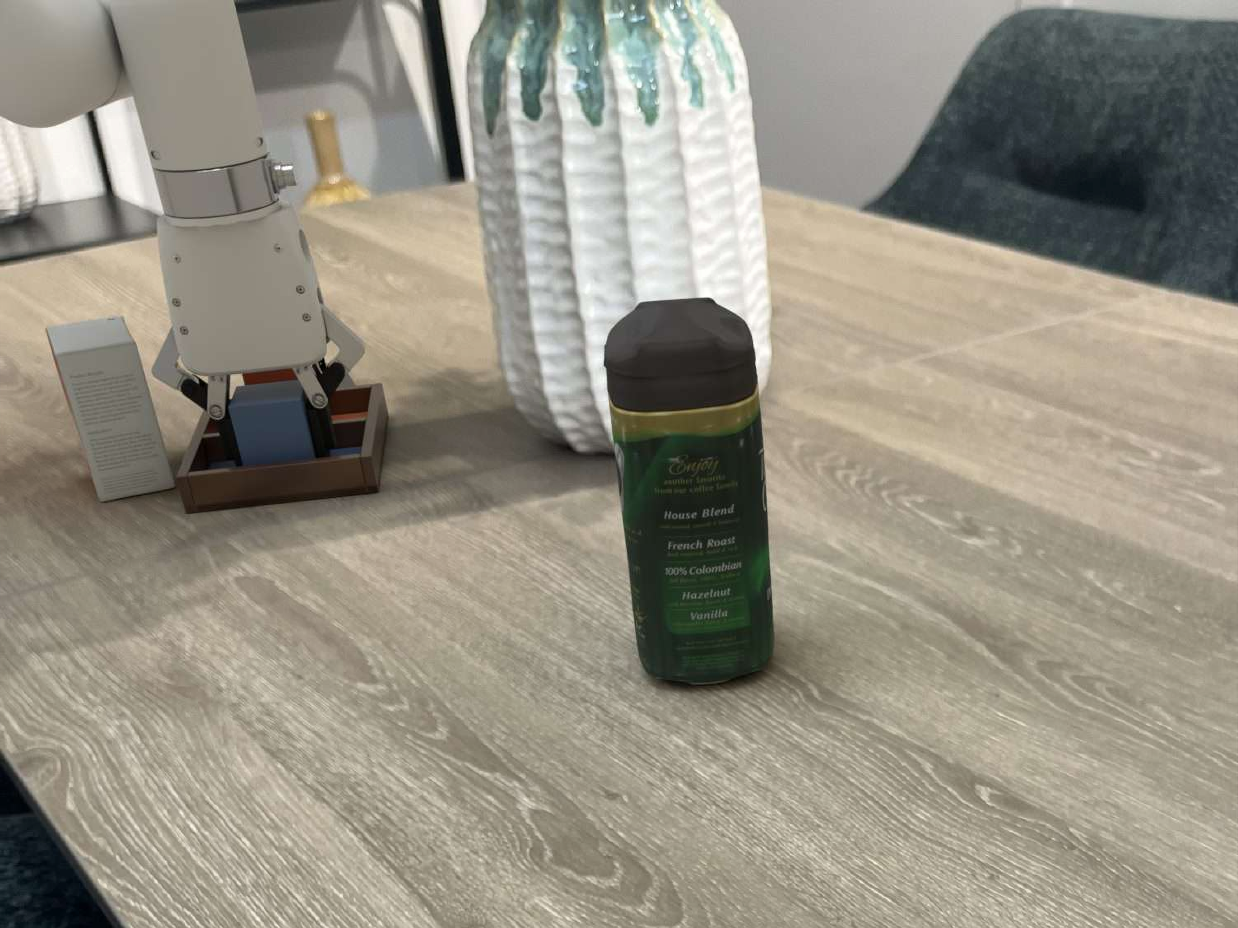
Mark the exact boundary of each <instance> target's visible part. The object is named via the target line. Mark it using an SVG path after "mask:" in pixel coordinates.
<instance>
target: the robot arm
mask: <svg viewBox="0 0 1238 928" xmlns="http://www.w3.org/2000/svg"><path fill="white" fill-rule="evenodd" d="M241 30H242V29H241V26H240V20H239V17H238V13H237V8H236V4H235V1H234V0H0V118H2V119H5V120H7V121H8V122H11V123H13V124H16V125H19V126H23V127H26V128H34V129H35V128H36V129H47V128H53V127H56V126H58V125H62V124H64V123H66V122H69V121H72V120H73V119H76V118H78V117H80V116H82V115H84V114H87V113H89V112H92V111H95V110H98V109H100V108H103V107H106V106H109V105H111V104H114V103H115V102H118V101H121V100H124V99H128V98H131V97H132V98H133V102H134V106H135V109H136V113H137V117H138V120H139V124H140V127H141V132H142V136H143V139H144V143H145V146H146V150H147V154H148V158H149V161H150V166H151V169H152V173H153V175H154V181H155V184H156V188H157V191H158V195H159V199H160V203H161V206H162V211H163V214H162V215H161V214H160V216H159V215H158V217H157V219H156V235H157V243H158V245H157V246H158V254H159V261H160V263H159V264H160V268H161V269H160V270H161V274H162V281H163V286H164V287H163V288H164V292H165V297H166V303H167V307H168V313H169V317H170V322H171V327H170V329H169V331H168V333H167V336H166V337H165V340H164V342H163V343H162V345H161V349H160V350H159V352H158V354H157V356H156V358H155V360H154V362H153V365H152V367H151V371H150V372H151V375H152V377H154V378H155V379H157V380H158V381H160V382H162V383H163V384H165V385H166V386H168V387H170V388H172V389H174V390H175V391H178V392H180V393H182V395H183V396H184V397H185V398H187V399H188V400H190V401H191V402H193V403H194V404H196V406H198V407H199V408H201V409H203V410H205V411H207V412H208V414H209V416H210V417H211V418H213V419H215V420H216V423H217V427H218V431H219V434H220V438H221V442H222V446H223V449H224V453H225V457H226V459H227V461H231V460H234V461H235V465H236V467H242V466H243V463H242V459H241V455H240V451H239V447H238V444H237V440H236V436H235V432H234V428H233V424H232V420H231V416H230V413H229V409H228V407H229V404H230V402H231V400H230V399H231V397H230V396H231V375H232V376H233V375H242V374H243V373H253V372H262V371H271V370H280V369H289V368H292V369H293V371H294V373H295V375H296V376H297V378H298V380H299V382H300V384H301V386H302V387H303V389H304V391H305V393H306V395H307V403H308V406H307V409H306V416H307V421H308V425H309V429H310V434H311V438H312V442H313V447H314V451H315V455H316V458H325V457H330V454H331V452H330V449H336V448H337V441H336V436H335V431H334V427H333V422H332V418H331V414H330V409H329V405H328V401H329V399H330V398H331V396H332V395H333V394H334V392H335V391H336V389H337V388H338V386H339V385H340V383H341V382H342V380H343V379H344V377H345V376H346V375H347V373H348V374H349V373H350V372H351V371H352V369H354V367H355V366H356V365H357V364H358V363H359V362H360V360H361V359H362V358H363V357H364V355H365V353H366V343H365V341H364V340H363V339H361V337H359V335H357V334H356V333H355V332H354V331H353V330H352V329H351V328H350V327H349V326H348V325H346V323H344V322H343V321H342V320H341V319H340V318H339V317H338V316H337V315H335V314H334V313H333V311H331V310H330V309H329V308H328V307H327V306H326V304H325V303H326V302H325V300H324V297H323V293H322V289H321V285H320V281H319V277H318V274H317V270H316V266H315V263H314V260H313V257H312V253H311V250H310V247H309V244H308V241H307V237H306V235H305V232H304V230H303V227H302V224H301V221H300V218H299V217H298V214H297V211H296V209H295V206H293V205H294V204H293V203H292V201H287V200H280V198H279V196H280V194H281V193H282V190H287V187H295V186H298V178H297V173H296V168H295V165H294V163H282V162H276V158H272V154H271V152H270V151H269V149H268V144H267V140H266V136H265V132H264V128H263V123H262V118H261V114H260V109H259V106H258V101H257V96H256V92H255V87H254V83H253V79H252V74H251V70H250V65H249V61H248V57H247V52H246V47H245V43H244V39H243V34H242V31H241ZM329 342H332V343H334V345H336V346H337V347H338V349H339V351H338V352H337V353H336V354H335V356H334V357H333V358H332V359H331V360H330V361H329V362H328V363H329V364H328V365H327V367H326V368H325V370H324V371H323V373H322V371H321V369H320V367H319V366H318V364H317V362H319V361H320V360H322V359H323V358H324V359H325V357H326V355H327V352H328V344H329ZM179 358H180V360H181V363H182V365H183V367H184V368H183V367H181V366H180V364H179ZM186 370H187V371H186ZM201 377H207V381H205V380H204V379H202V378H201Z"/></svg>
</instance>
